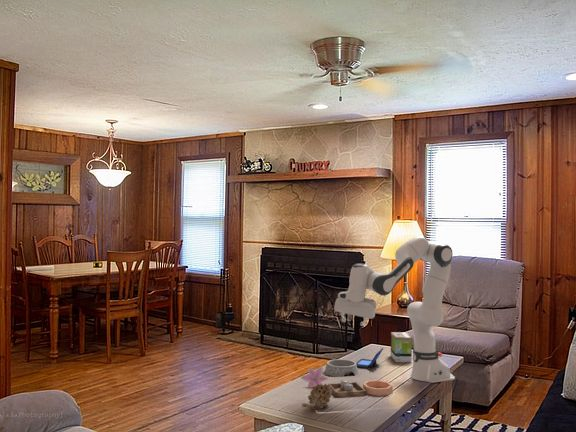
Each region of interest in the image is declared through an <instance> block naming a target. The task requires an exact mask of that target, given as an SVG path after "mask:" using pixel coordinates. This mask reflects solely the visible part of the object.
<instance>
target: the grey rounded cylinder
mask: <svg viewBox="0 0 576 432" xmlns="http://www.w3.org/2000/svg"><path fill="white" fill-rule="evenodd" d="M346 391H353V385H352V384H344V392H346Z"/></svg>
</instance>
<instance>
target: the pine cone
mask: <svg viewBox="0 0 576 432" xmlns="http://www.w3.org/2000/svg"><path fill="white" fill-rule="evenodd" d="M331 391H332V389H330V387H328V384H326V383H324V384H322V385H321V384H320V385H319V384H317V386H313V387H312V388H311V390H310V393H309V395H308V396H307V399H308V400H309V401H308V403H306V402H305V403H304V402H302V403H301V408H313V409H314V410H317V409H320V410H321V409H323V408H324V407H326V406H327V404H328V403H330V401H331V398H332V396H333V395H332V394H333V393H332V392H331Z"/></svg>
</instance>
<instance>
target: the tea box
mask: <svg viewBox="0 0 576 432" xmlns="http://www.w3.org/2000/svg"><path fill="white" fill-rule="evenodd" d="M412 348H413V337H412V336H411V335H410V334H409V333H408V332H406V331H405V332H404V331H403V332H400V331H398V332H397V331H394V332H392V331H391V332H390V356H391V358H392V359H393V360H394V362H395V363H412V362H413V349H412Z"/></svg>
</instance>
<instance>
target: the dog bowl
mask: <svg viewBox="0 0 576 432" xmlns="http://www.w3.org/2000/svg"><path fill="white" fill-rule="evenodd" d="M356 363H357V362H355V360H351V359H344V358H343V359H339V358H338V359H331V360H330V359H329V361H327V362H326V364H325V369H324V373H325V374H326V375H328V376H331V377H336V378H343V377H344V376H345V375H350V374H352V373H353V375H354V376H357V375H358V374H359V368H357V365H356Z"/></svg>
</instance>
